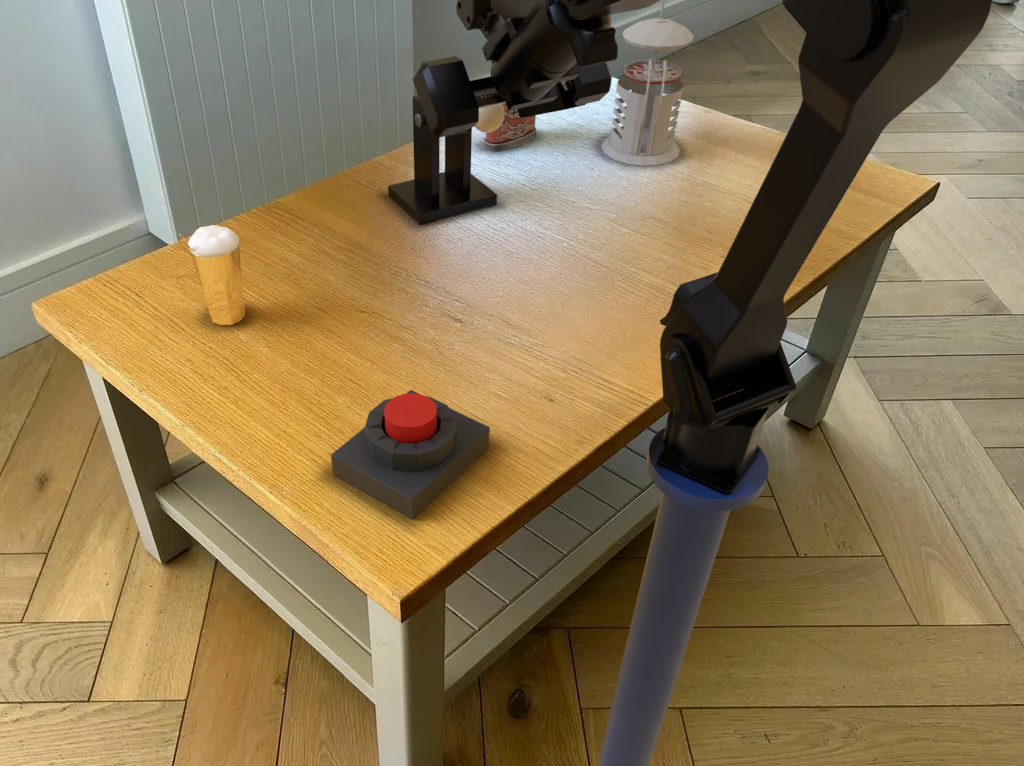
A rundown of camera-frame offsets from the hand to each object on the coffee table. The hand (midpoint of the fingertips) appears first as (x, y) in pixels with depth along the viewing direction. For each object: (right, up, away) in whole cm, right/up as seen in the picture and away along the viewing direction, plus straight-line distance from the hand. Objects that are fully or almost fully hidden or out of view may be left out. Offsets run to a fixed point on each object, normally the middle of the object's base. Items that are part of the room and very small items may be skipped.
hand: (480, 121), depth 90 cm
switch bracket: (-4, -4, +14) cm, 15 cm away
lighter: (+5, +7, +26) cm, 27 cm away
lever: (-1, 0, +3) cm, 3 cm away
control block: (-7, -34, -19) cm, 39 cm away
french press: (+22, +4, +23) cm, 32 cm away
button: (-7, -31, -21) cm, 38 cm away
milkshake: (-25, -20, -3) cm, 33 cm away
